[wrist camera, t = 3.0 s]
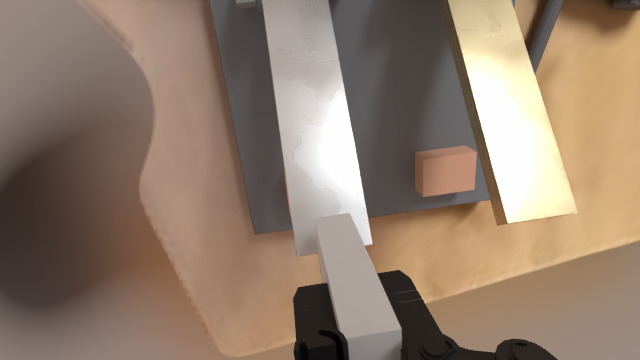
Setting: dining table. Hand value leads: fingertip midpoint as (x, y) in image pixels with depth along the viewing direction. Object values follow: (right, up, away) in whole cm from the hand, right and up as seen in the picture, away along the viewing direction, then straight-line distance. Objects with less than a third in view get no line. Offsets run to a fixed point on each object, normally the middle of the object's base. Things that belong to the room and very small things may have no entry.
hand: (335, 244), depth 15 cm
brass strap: (+9, +8, +5) cm, 13 cm away
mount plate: (+3, +10, +12) cm, 16 cm away
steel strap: (-1, +7, +4) cm, 8 cm away
